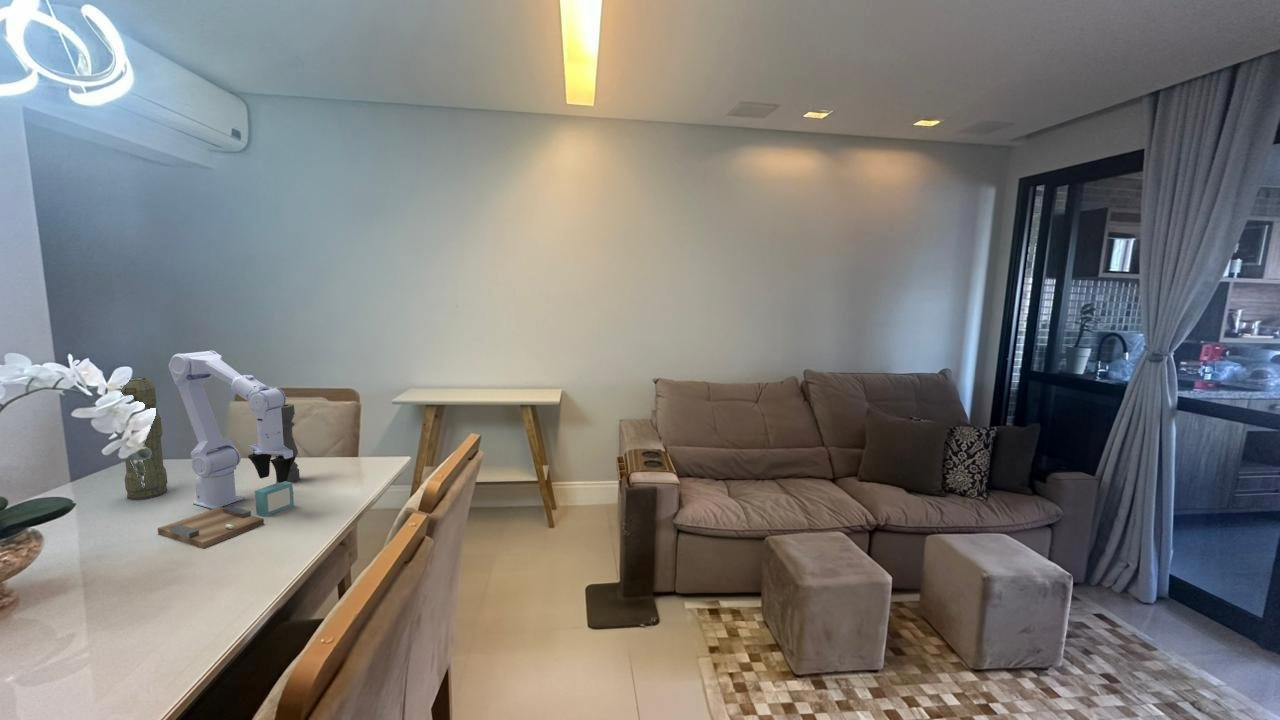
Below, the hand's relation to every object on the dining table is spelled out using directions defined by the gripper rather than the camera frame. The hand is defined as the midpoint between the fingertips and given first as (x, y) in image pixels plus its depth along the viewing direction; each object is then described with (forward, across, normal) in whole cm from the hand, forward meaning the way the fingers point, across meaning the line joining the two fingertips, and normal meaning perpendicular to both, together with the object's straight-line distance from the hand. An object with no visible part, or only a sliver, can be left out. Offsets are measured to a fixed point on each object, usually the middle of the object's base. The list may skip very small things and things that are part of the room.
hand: (273, 479), depth 142 cm
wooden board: (+9, -3, -14) cm, 17 cm away
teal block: (+9, 0, 0) cm, 9 cm away
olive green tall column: (+9, -44, -8) cm, 46 cm away
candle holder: (+9, -18, +16) cm, 26 cm away
